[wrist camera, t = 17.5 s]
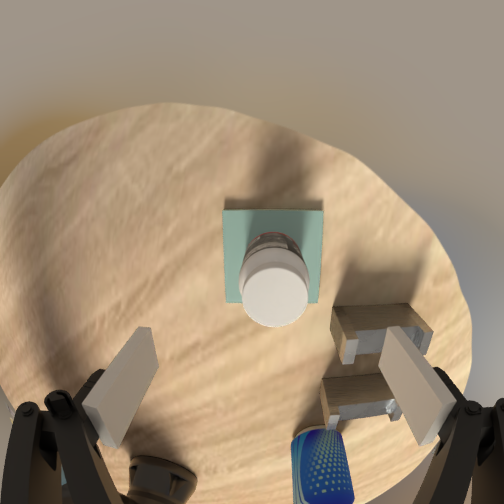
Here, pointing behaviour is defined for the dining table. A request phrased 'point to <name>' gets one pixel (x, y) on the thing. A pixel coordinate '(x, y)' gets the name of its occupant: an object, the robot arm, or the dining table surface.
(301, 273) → the pill bottle
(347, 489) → the beer can
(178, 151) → the dining table surface
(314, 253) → the coaster
